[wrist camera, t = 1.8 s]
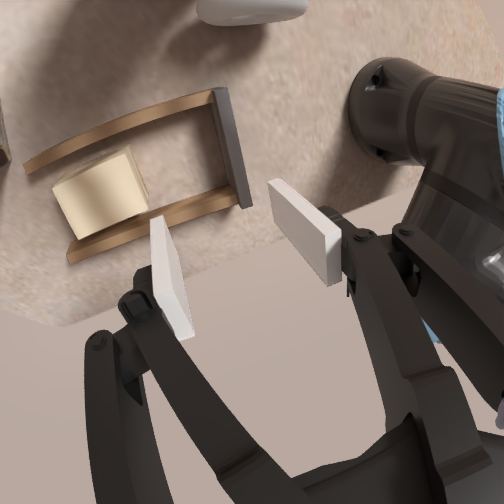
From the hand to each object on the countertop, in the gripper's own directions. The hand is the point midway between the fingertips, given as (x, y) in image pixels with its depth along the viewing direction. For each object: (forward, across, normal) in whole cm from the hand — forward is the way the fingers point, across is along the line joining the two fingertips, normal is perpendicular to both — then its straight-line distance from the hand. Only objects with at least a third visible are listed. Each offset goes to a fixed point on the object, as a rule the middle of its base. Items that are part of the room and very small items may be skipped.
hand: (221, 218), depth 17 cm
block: (+17, +10, 0) cm, 20 cm away
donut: (+17, -8, -14) cm, 24 cm away
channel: (+17, +6, 0) cm, 18 cm away
